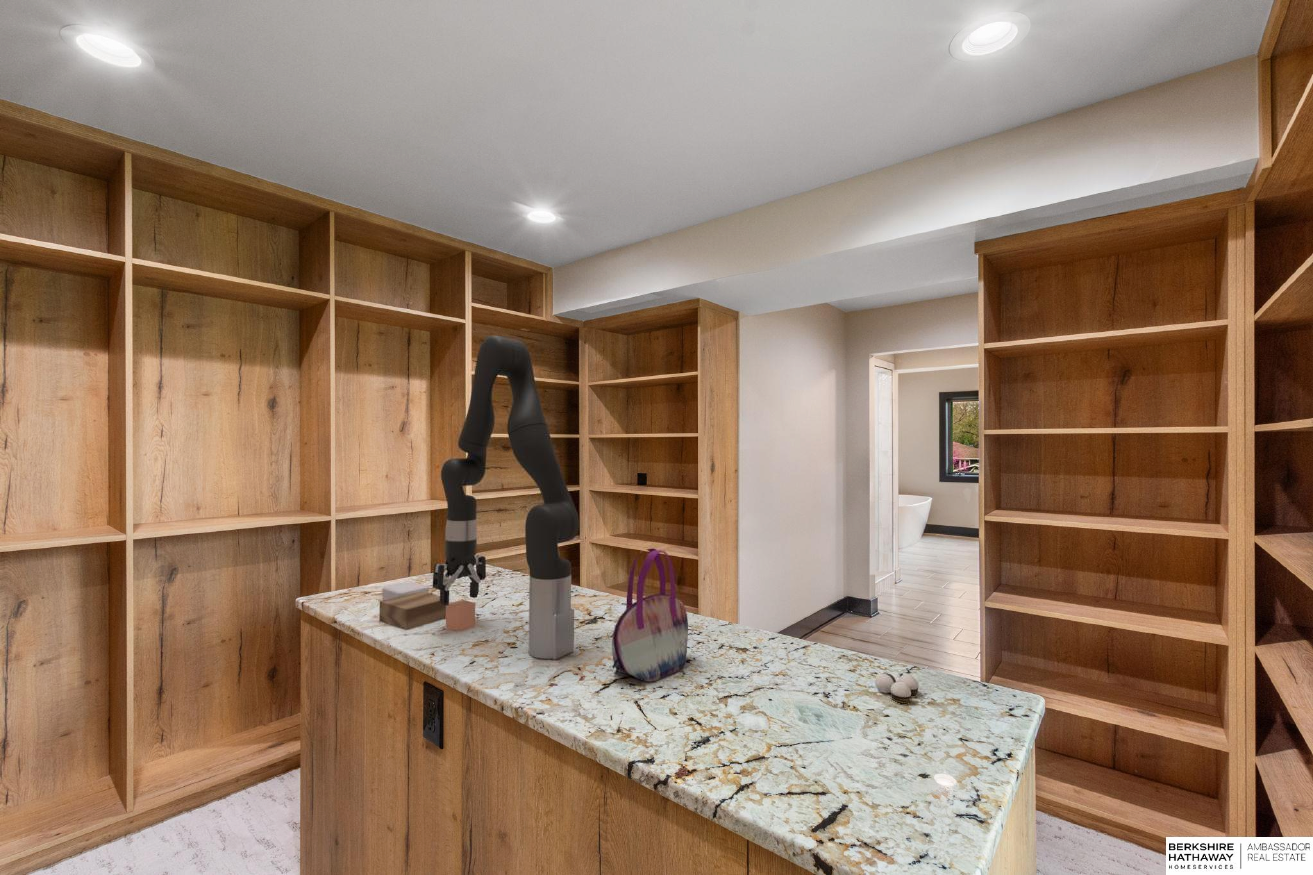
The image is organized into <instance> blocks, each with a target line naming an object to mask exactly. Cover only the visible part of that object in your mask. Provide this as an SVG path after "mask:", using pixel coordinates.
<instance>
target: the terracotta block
mask: <svg viewBox="0 0 1313 875" xmlns="http://www.w3.org/2000/svg"><path fill="white" fill-rule="evenodd" d="M474 627H476V602H473V601H470V600H465V599H460V600H456V601H453V602H449V605H447V606H446V618H445V629H448V630H452V631H453V632H457V633H458V632H459V633H460V632H462V631H465V630H469V629H472V628H474Z"/></svg>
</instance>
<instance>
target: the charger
mask: <svg viewBox="0 0 1313 875" xmlns="http://www.w3.org/2000/svg"><path fill="white" fill-rule="evenodd" d="M429 590H430V589H429V586H428V585H425V584H422V583H418V582H414V581H411V580H407V581H401V582H396V583H392V584H391V583H390V584H387V585H385V586H384V587H382V590H381V591H382V596H381V598H382V600H381V601H384V600H388V599H392V598H396V597H400V596H404V595H408V594H412V593H417V592H421V591H422V592H425V593H429V594H430V592H429Z"/></svg>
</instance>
